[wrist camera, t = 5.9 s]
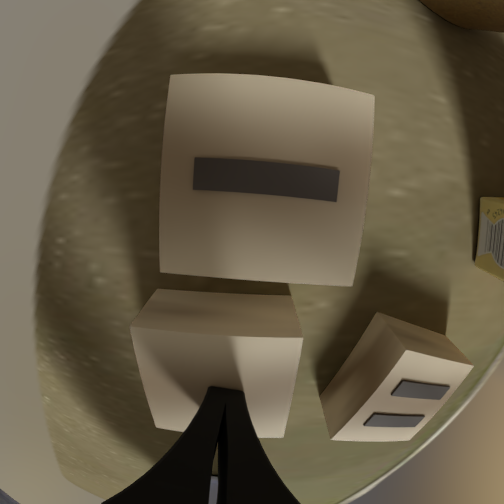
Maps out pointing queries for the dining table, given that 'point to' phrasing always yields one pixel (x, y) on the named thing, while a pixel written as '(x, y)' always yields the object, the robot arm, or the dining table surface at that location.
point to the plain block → (218, 354)
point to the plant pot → (470, 13)
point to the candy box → (491, 237)
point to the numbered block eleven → (392, 382)
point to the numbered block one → (264, 178)
